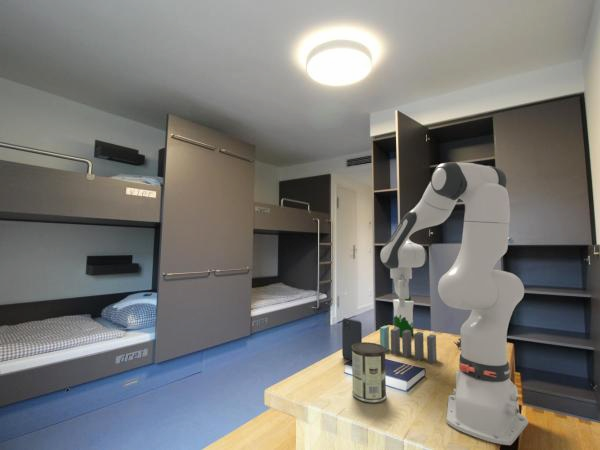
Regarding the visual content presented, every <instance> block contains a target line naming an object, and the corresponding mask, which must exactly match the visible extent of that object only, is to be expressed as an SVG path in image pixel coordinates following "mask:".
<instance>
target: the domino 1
mask: <svg viewBox="0 0 600 450" xmlns="http://www.w3.org/2000/svg"><path fill="white" fill-rule="evenodd" d="M379 345H382V346H383V347H385V351H386V352H387V351H389V350H390V326H387V325H383V326H381V327H379ZM388 349H389V350H388Z"/></svg>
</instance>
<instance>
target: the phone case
mask: <svg viewBox="0 0 600 450" xmlns="http://www.w3.org/2000/svg"><path fill="white" fill-rule="evenodd" d="M341 322H342V323H341V324H342V325H341V326H342V327H341V328H342V329H341V331H342V335H341V337H342V339H341V340H342V343H341V344H342V349H341V350H342V351H341V353H342V357H343V359H345V360H349V361H351V360H352V345H353V344H356V343H361V342H362V341H363V339H362V335H363V333H362V328H363V327H362V322H361V321H360V320H356V319H352V318H347V317H345V318H343V319H342V320H341Z"/></svg>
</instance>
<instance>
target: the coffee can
mask: <svg viewBox="0 0 600 450" xmlns="http://www.w3.org/2000/svg"><path fill="white" fill-rule="evenodd" d="M351 366H352V368H351V369H352V371H351V372H352V377H351V378H352V379H351V381H352V395H353V397H355V398H356V399H357V400H360V401H362V402H365V403H380V402H383V401H384V400H386V398H387V392H386V391H387V388H386V383H387V381H386V378H387V377H386V352H385V347H383V346H382V345H380V343H375V342H367V341H366V342H364V341H363V342H361V343H356V344H353V345H352V361H351Z"/></svg>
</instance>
